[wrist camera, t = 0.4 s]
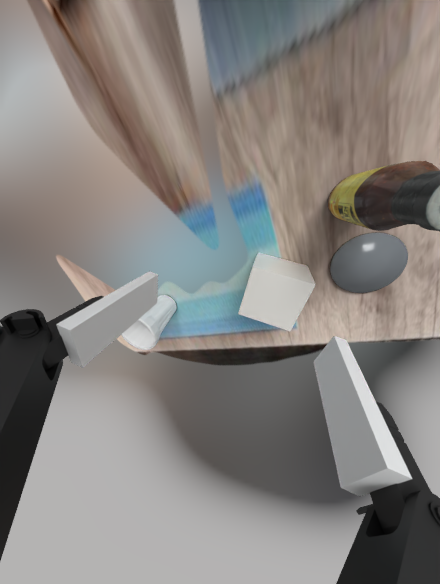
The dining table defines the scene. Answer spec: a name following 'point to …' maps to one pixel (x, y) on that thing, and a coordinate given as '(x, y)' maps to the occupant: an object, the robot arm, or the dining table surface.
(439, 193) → the sauce bottle
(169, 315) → the cup
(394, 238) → the dark grey disc
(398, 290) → the dining table surface
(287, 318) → the white block
